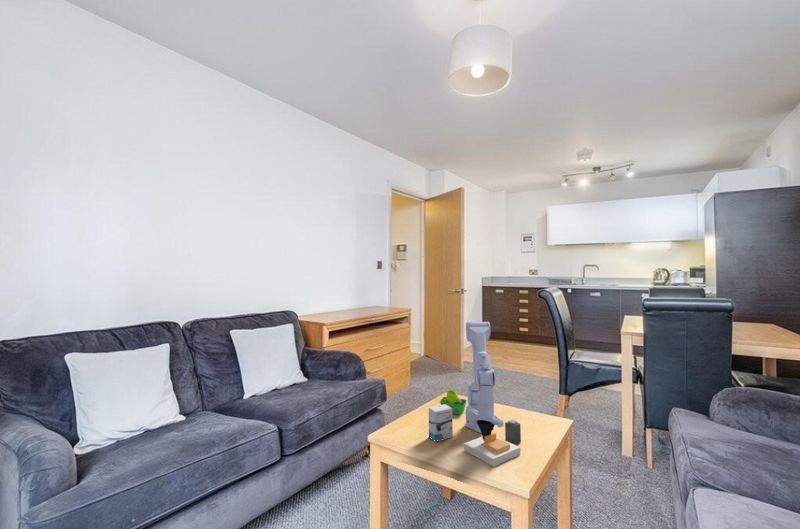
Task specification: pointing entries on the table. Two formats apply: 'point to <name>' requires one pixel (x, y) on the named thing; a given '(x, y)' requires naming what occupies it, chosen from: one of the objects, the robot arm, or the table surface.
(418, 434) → the table surface
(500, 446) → the tan slab
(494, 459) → the socket
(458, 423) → the table surface
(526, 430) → the table surface
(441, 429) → the ink box
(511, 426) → the plug
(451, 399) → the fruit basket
